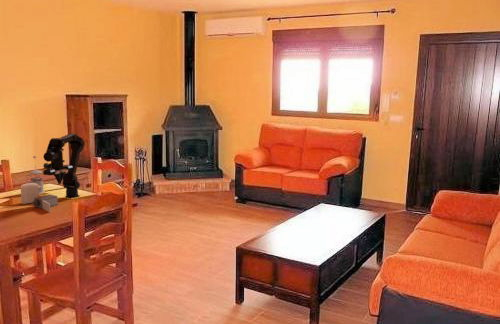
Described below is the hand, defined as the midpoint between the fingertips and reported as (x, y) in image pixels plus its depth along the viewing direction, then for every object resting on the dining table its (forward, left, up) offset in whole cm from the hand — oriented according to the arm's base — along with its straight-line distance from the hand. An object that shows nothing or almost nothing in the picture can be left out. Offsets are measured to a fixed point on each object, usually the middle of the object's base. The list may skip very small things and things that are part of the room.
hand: (59, 183), depth 265 cm
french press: (-7, -36, -12) cm, 39 cm away
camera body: (+9, -1, -12) cm, 15 cm away
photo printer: (+10, -15, -12) cm, 22 cm away
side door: (+15, +8, -12) cm, 21 cm away
